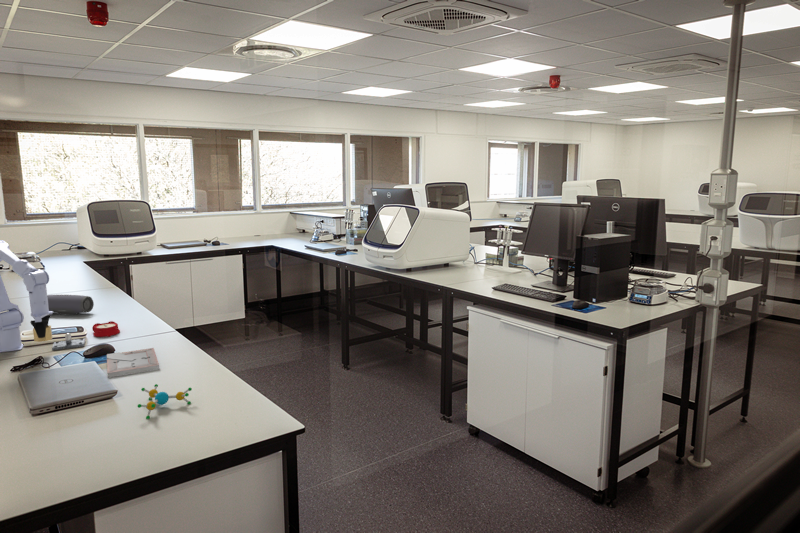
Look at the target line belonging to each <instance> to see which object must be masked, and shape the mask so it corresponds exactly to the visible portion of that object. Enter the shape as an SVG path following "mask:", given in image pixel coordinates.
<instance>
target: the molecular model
mask: <svg viewBox="0 0 800 533" xmlns="http://www.w3.org/2000/svg"><path fill="white" fill-rule="evenodd" d="M153 386H154V388H152V389H150V390H148V389H146V388H145V387H141V392H146V393H148V402H147V403H146V404H141V403H138V404H137V408H138V409H141V408H146V409H147V410H148V412H147V415H146V417H145V419H146V420H149V419H150V418H151V415H150V414H151V411H154V410H155V409H156V408H157V405H161V406H162V405H165V404H166V403H168V401H169V399H176V400H177V401H185V402H186V404H187V405H191V404H192V401H191V400H187V398H186V397H189V393H188V392H191V391H192V387H188V389H186V390H184V391H178V392H177V393H175V395H174V394H173V395H169V394H168V393H167V392H165V391H160V392H158V390H157V388H158V386H159V384H157V383H155V384H154V385H153ZM153 399H154V401H152V400H153Z"/></svg>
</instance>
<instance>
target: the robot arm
mask: <svg viewBox="0 0 800 533" xmlns="http://www.w3.org/2000/svg"><path fill="white" fill-rule="evenodd" d="M2 261H4V262H5V263H7V264H8V265H9V266H11V269H12V271H13V272H14V273H15V274H17V275H18V276H19V277H20V278H22V281H23V285H25V288H26V292H28V298H29V305H30V316H31V317H32V318H33V319H34V320H30V324H31V326H32V327H33V328H34V329H35V331H36V333H37V336H38V338H44V337H45V335H46V325H49V321H50V318H51V316H52V314H54V312H53V311H49V307H48V298H47V295H48V290H47V284H48V283H49V282H50V276H49V274H48V272H47V271H46V270H44V269H40V268H36V267H35V266H34V265H33V264H31V263H30V262H29V260H27V259H20V258H19V257H18V256H17V255H15V253H14V252H12V251H11V249H10V245H9V243H7V242H6V241H5V240H4V239H3V240H2V239H0V262H2ZM24 319H25V318H24V313H23V312H22V311H21V309H20V307H19V305H18V304H15V303H13V302H11V300H10V296H9V295H8V291H7V289H6V286H5V284H4V281H3V278H2V276H1V274H0V353H5V352H12V351H14V352H15V351H20V350H22V349H23V347H24V346H25V344H24V345H23V344H22V337H21V336H22V335H21V330H20V327H21V326H22V323H23V322H24Z"/></svg>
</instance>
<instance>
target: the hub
mask: <svg viewBox="0 0 800 533" xmlns="http://www.w3.org/2000/svg"><path fill="white" fill-rule="evenodd" d="M52 330H53V329H52V325H49V324H48V325H46V335H45V337H44V338H38V336H37V333H36V331H35V329H34V327H33V329H32V333H33V341H34V342H38V343H39V342H40V343H41V342H47V341H51V340H53V331H52Z"/></svg>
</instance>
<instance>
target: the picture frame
mask: <svg viewBox="0 0 800 533" xmlns="http://www.w3.org/2000/svg"><path fill="white" fill-rule="evenodd" d="M157 370H160V363H159V360H158V357H157V353H156V351H155V348H154V347H151V348H144V349H138V350H131V351H129V350H128V351H123V352H114V353H113V352H112V353H107V354H106V371H107V374H106V375H107V378H115V377H120V376H127V375H132V374H133V375H134V374H138V373H144V372H151V371H152V372H153V371H157Z"/></svg>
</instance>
